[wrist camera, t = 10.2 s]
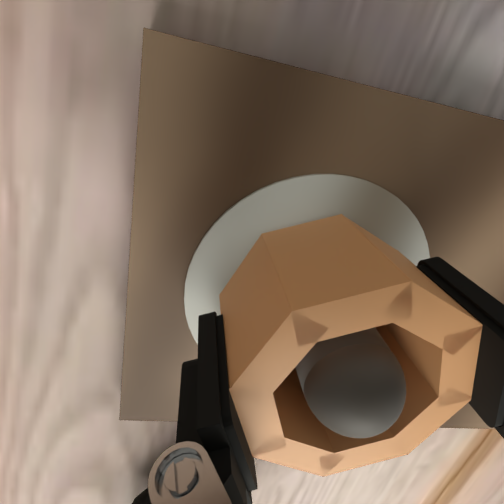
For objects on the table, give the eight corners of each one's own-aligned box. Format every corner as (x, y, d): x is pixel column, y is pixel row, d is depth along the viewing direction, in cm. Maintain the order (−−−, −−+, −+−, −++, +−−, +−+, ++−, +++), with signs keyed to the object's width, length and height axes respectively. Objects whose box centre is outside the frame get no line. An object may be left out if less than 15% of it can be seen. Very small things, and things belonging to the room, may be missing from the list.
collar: (397, 199, 11) (495, 259, 7) (397, 344, 13) (467, 438, 10) (204, 247, 10) (205, 333, 7) (246, 383, 13) (262, 493, 10)
